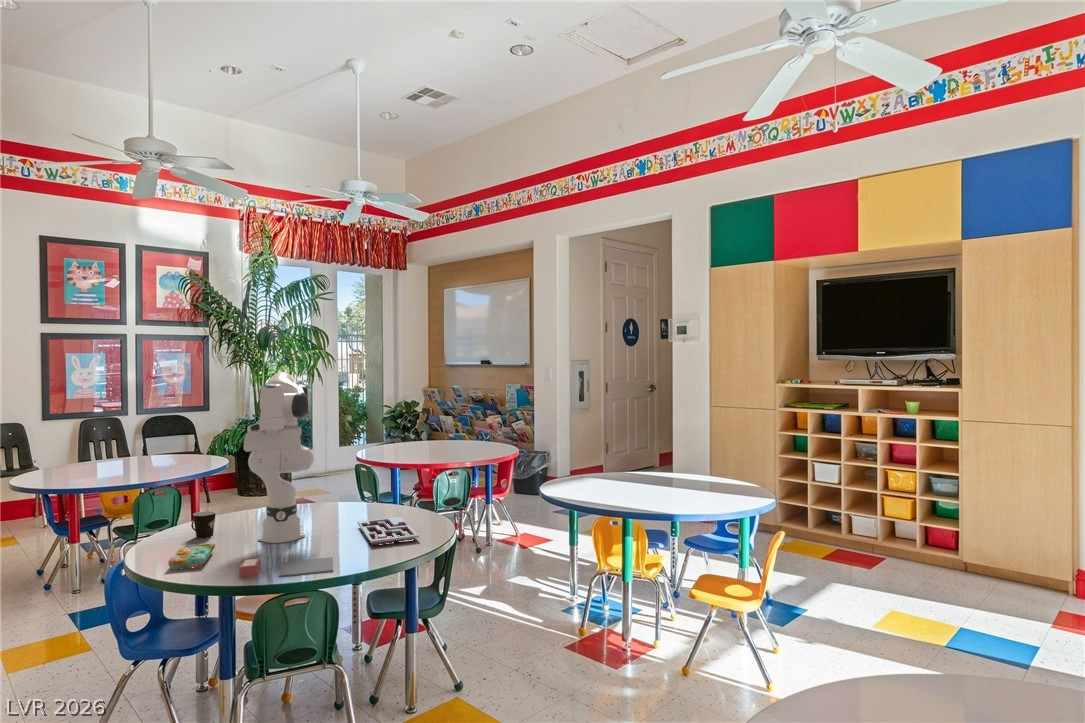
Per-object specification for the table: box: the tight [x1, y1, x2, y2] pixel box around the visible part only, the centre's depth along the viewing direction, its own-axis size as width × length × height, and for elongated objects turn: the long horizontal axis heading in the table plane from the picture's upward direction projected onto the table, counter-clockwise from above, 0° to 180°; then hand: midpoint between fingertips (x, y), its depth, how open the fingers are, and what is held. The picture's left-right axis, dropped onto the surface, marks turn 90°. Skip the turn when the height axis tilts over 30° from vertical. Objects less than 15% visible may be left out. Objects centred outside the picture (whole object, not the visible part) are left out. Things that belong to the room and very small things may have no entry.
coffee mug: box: [190, 510, 217, 539], centre depth 277 cm, size 12×9×10 cm
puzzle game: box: [168, 543, 216, 570], centre depth 244 cm, size 12×5×20 cm
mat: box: [278, 556, 334, 578], centre depth 237 cm, size 16×18×1 cm
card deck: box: [239, 558, 261, 579], centre depth 231 cm, size 9×6×4 cm, turn 16°
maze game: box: [357, 516, 420, 547], centre depth 281 cm, size 35×20×3 cm, turn 25°
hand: (273, 462), depth 245 cm, fingers open, 8 cm apart
